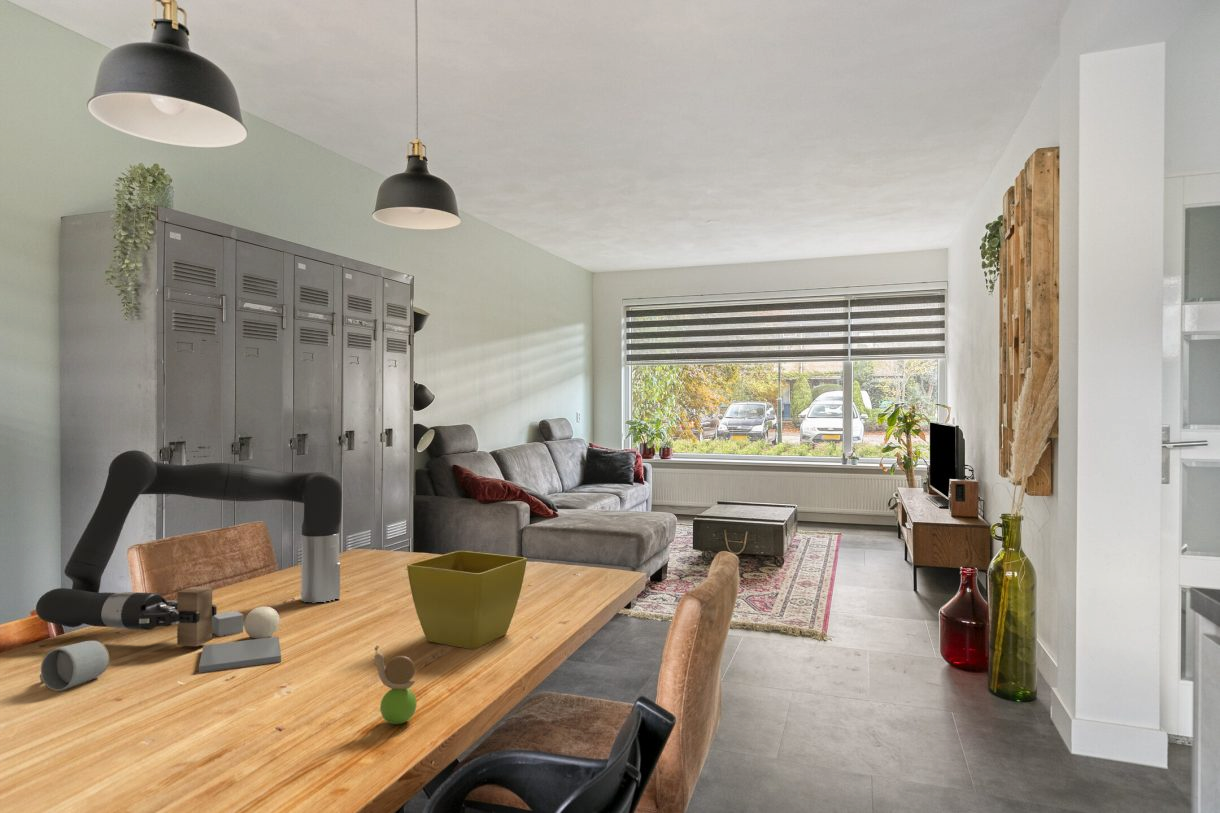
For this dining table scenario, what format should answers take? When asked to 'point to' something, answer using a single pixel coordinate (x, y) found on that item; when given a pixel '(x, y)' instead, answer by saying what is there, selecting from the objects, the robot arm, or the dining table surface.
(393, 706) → the snail figurine
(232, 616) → the grey block
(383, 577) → the dining table surface
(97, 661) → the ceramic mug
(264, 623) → the steamed bun
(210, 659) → the plate
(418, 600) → the flower pot
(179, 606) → the walnut block
